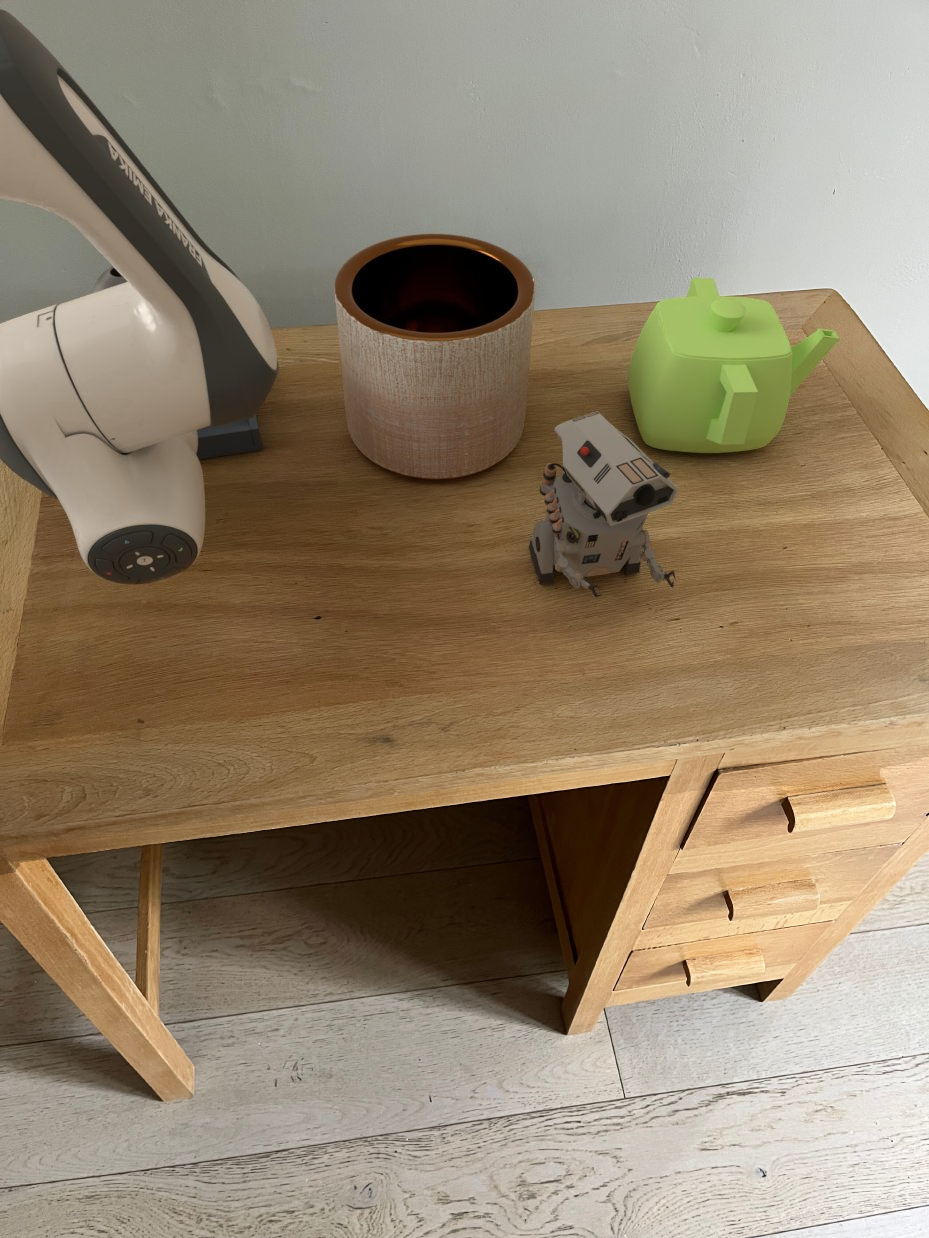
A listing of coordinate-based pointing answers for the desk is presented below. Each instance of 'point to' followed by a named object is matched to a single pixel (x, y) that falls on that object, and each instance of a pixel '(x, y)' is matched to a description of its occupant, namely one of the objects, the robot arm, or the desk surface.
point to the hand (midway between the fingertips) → (129, 316)
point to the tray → (229, 439)
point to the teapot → (717, 372)
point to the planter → (435, 352)
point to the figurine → (598, 505)
